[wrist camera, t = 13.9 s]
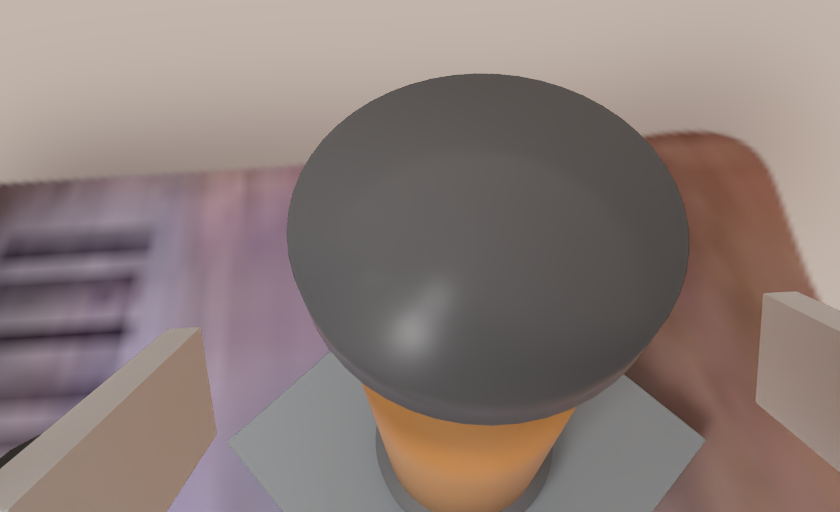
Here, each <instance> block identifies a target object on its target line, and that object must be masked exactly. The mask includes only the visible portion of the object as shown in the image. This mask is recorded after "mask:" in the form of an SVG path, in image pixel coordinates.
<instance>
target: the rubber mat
mask: <svg viewBox="0 0 840 512" xmlns="http://www.w3.org/2000/svg"><path fill="white" fill-rule="evenodd" d="M376 427H377V424H376V421H375V418H374V415H373V412H372V410H371V407H370V404H369V401H368V399H367V396H366V393H365V390H364V387H363V385H362V382H361V381H360V380H358V379H357V378H356V377H355V376H354V375H353V374H352V373H350V372H349V371H348V370H347V369H346V368H345V367H344V366H343V365H342V364H341V362H340V361H339V360H338V359H337V358H336V357H335V355H334V354H333V353H332V352H329V353H328V354H327V355H326V356H325V357H324V358H323V359H321V360H320V361H319V362H318V363H317V364H316V365H315V366H313V367H312V368H311V369H310V370H309V371H308V372H307V373H306V374H304V375H303V376H302V377H301V378H300V379H299V380H298V381H296V382H295V383H294V384H293V385H292V386H291V387H290V388H288V389H287V390H286V391H285V392H284V393H283V394H282V395H280V396H279V397H278V398H277V399H276V400H275V401H274V402H272V403H271V404H270V405H269V406H268V407H267V408H266V409H265V410H263V411H262V412H261V413H260V414H259V415H258V416H257V417H255V418H254V419H253V420H252V421H251V422H250V423H249V424H247V425H246V426H245V427H244V428H243V429H242V430H241V431H239V432H238V433H237V434H236V435H235V436H234V437H233V438H232V439H230V440H229V441H228V442H227V443H228V444H229V446H230V447H231V448H232V449H233V451H234V452H235V453H236V454H237V456H238V457H239V458H240V459H241V461H242V462H243V463H244V464H245V466H246V467H247V468H248V469H249V471H250V472H251V473H252V474H253V476H254V477H255V478H256V479H257V481H258V482H259V483H260V484H261V486H262V487H263V488H264V489H265V491H266V492H267V493H268V494H269V496H270V497H271V498H272V499H273V501H274V502H275V503H276V504H277V506H278V507H279V508H280V509H281V511H282V512H405V511H404V510H403V509H402V508H401V507H400V505H399V504H398V503H397V502H396V500H395V499H394V498H393V496H392V494H391V493H390V491H389V489H388V487H387V485H386V483H385V480H384V478H383V476H382V473H381V471H380V467H379V464H378V460H377V454H376V438H375V437H376ZM705 441H706V439H705V438H703V437H702V436H701V435H699V434H698V433H697V432H696V431H694V430H693V429H692V428H691V427H689V426H688V425H687V424H686V423H684V422H683V421H682V420H681V419H679V418H678V417H677V416H676V415H674V414H673V413H672V412H671V411H669V410H668V409H667V408H666V407H664V406H663V405H662V404H661V403H659V402H658V401H657V400H656V399H654V398H653V397H652V396H650V395H649V394H648V393H647V392H645V391H644V390H643V389H642V388H640V387H639V386H638V385H637V384H635V383H634V382H633V381H632V380H630V379H629V378H628V377H627V376H625V375H624V374H623V375H622V376H621V377H620V378H619V379H618V380H617V381H616V382H615V383H613V384H612V385H611V386H609V387H608V388H607V389H605V390H604V391H602V392H601V393H600V394H598V395H597V396H596V397H594V398H592V399H590V400H588V401H586V402H584V403H582V404H580V405H578V406H577V407H576V409H575V410H574V412H573V413H572V415H571V417H570V418H569V420H568V422H567V423H566V425H565V427H564V428H563V430H562V432H561V433H560V435H559V437H558V438H557V440H556V441H555V443H554V445H553V454H552V462H551V466H550V471H549V474H548V476H547V479H546V482H545V484H544V486H543V488H542V490H541V491H540V493H539V495H538V496H537V497H536V499H535V500H534V501H533V503H532V504H531V506H530V507H529V508H528V509H527V510H526V511H525V512H652V511H653V510H654V509H655V507H656V506H657V505H658V503H659V502H660V501H661V499H662V498H663V497H664V495H665V494H666V493H667V491H668V490H669V489H670V487H671V486H672V485H673V483H674V482H675V481H676V479H677V478H678V477H679V475H680V474H681V473H682V471H683V470H684V469H685V467H686V466H687V465H688V463H689V462H690V461H691V459H692V458H693V457H694V455H695V454H696V453H697V451H698V450H699V449H700V447H701V446H702V445H703V443H704V442H705Z"/></svg>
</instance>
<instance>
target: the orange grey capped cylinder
mask: <svg viewBox="0 0 840 512" xmlns="http://www.w3.org/2000/svg"><path fill="white" fill-rule="evenodd" d="M287 244H288V255H289V260H290V264H291V267H292V271H293V275H294V279H295V281H296V283H297V286H298V288H299V290H300V293H301V295H302V297H303V300H304V302H305V304H306V306H307V309H308V311H309V313H310V315H311V317H312V320H313V322H314V324H315V326H316V329H317V331H318V332H319V334H320V335H321V337H322V339H323V340H324V342H325V343H326V345H327V347H328V348H329V350H330V351H331V352H332V353H333V354H334V355H335V357H336V358H337V359H338V360H339V361H340V362H341V364H342V365H343V366H344V367H345V368H346V369H347V370H348V371H349V372H350V373H352V374H353V375H354V376H355V377H356V378H357V379H358V380H360V381H361V382H362V385H363V387H364V390H365V393H366V396H367V399H368V401H369V404H370V407H371V410H372V412H373V415H374V418H375V421H376V424H377V427H376V437H375V438H376V454H377V460H378V464H379V467H380V471H381V473H382V476H383V478H384V480H385V483H386V485H387V487H388V489H389V491H390V493H391V494H392V496H393V498H394V499H395V500H396V502H397V503H398V504H399V505H400V507H401V508H402V509H403V510H404V511H405V512H525V511H526V510H527V509H528V508H529V507H530V506H531V504H532V503H533V501H534V500H535V499H536V497H537V496H538V495H539V493H540V491H541V490H542V488H543V486H544V484H545V482H546V479H547V476H548V474H549V471H550V466H551V462H552V454H553V445H554V443H555V441H556V440H557V438H558V437H559V435H560V433H561V432H562V430H563V428H564V427H565V425H566V423H567V422H568V420H569V418H570V417H571V415H572V413H573V412H574V410H575V409H576V407H577V406H578V405H580V404H582V403H584V402H586V401H588V400H590V399H592V398H594V397H596V396H597V395H598V394H600V393H601V392H602V391H604V390H605V389H607V388H608V387H609V386H611V385H612V384H613V383H615V382H616V381H617V380H618V379H619V378H620V377H621V376H622V375H623V374H624V373H625V372H626V371H627V370H628V369H629V368H630V367H631V366H632V365H633V364H634V363H635V361H636V360H637V359H638V357H639V356H640V355H641V353H642V352H643V351H644V349H645V348H646V346H647V345H648V344H649V342H650V341H651V340H652V338H653V337H654V335H655V334H656V333H657V331H658V330H659V329H660V327H661V326H662V324H663V323H664V322H665V320H666V319H667V318H668V316H669V314H670V312H671V310H672V308H673V306H674V304H675V302H676V300H677V298H678V296H679V294H680V291H681V288H682V285H683V282H684V278H685V275H686V272H687V264H688V256H689V228H688V222H687V217H686V213H685V208H684V204H683V201H682V199H681V196H680V193H679V191H678V188H677V185H676V183H675V181H674V180H673V178H672V176H671V174H670V172H669V170H668V169H667V167H666V165H665V164H664V162H663V161H662V160H661V158H660V157H659V156H658V154H657V153H656V152H655V150H654V149H653V148H652V147H651V145H650V144H649V143H648V142H647V141H646V140H645V139H644V138H643V137H642V136H641V135H640V134H639V133H638V132H637V131H635V130H634V129H633V128H632V127H631V126H630V125H629V124H627V123H626V122H625V121H624V120H623V119H621V118H620V117H619V116H617V115H615V114H614V113H613V112H611V111H610V110H608V109H606V108H605V107H604V106H602V105H600V104H598V103H596V102H594V101H592V100H590V99H589V98H586V97H585V96H583V95H580V94H578V93H575V92H573V91H570V90H568V89H565V88H563V87H560V86H557V85H553V84H550V83H546V82H543V81H539V80H534V79H529V78H524V77H519V76H509V75H501V74H464V75H452V76H446V77H440V78H434V79H429V80H426V81H422V82H418V83H414V84H410V85H408V86H405V87H402V88H400V89H397V90H394V91H391V92H389V93H387V94H385V95H383V96H381V97H379V98H377V99H375V100H373V101H371V102H369V103H368V104H366V105H365V106H363V107H361V108H360V109H358V110H357V111H355V112H353V113H352V114H351V115H350V116H348V117H347V118H346V119H345V120H344V121H342V122H341V123H340V124H339V125H337V126H336V127H335V128H334V129H333V130H332V131H331V132H330V133H329V134H328V135H327V136H326V137H325V138H324V139H323V140H322V142H321V143H320V144H319V146H318V147H317V149H316V150H315V151H314V153H313V154H312V155H311V156H310V158H309V160H308V161H307V163H306V165H305V167H304V168H303V170H302V172H301V174H300V176H299V179H298V181H297V184H296V186H295V189H294V191H293V194H292V199H291V203H290V207H289V212H288V223H287Z"/></svg>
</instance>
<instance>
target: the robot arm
mask: <svg viewBox="0 0 840 512" xmlns="http://www.w3.org/2000/svg"><path fill="white" fill-rule="evenodd" d="M756 403H757V404H758V405H759V406H760V407H762V408H763V409H764V410H765V411H766V412H768V413H769V414H770V415H771V416H772V417H774V418H775V419H776V420H777V421H778V422H780V423H781V424H782V425H783V426H784V427H786V428H787V429H788V430H789V431H790V432H792V433H793V434H794V435H795V436H796V437H798V438H799V439H800V440H801V441H802V442H804V443H805V444H806V445H807V446H808V447H810V448H811V449H812V450H813V451H814V452H816V453H817V454H818V455H819V456H820V457H822V458H823V459H824V460H825V461H826V462H828V463H829V464H830V465H831V466H832V467H834V468H835V469H836V470H837V471H838V472H840V311H839V310H837V309H834V308H832V307H830V306H828V305H826V304H824V303H821V302H819V301H817V300H815V299H812V298H810V297H808V296H806V295H804V294H801V293H799V292H797V291H793V292H776V293H763V304H762V318H761V332H760V346H759V360H758V374H757V388H756ZM216 434H217V432H216V425H215V419H214V412H213V406H212V399H211V393H210V386H209V380H208V373H207V367H206V360H205V353H204V347H203V340H202V334H201V327H193V328H177V329H167V330H166V331H165V332H164V333H163V334H161V335H160V336H159V337H158V338H157V339H155V340H154V341H153V342H152V343H151V344H149V345H148V346H147V347H146V348H145V349H143V350H142V351H141V352H140V353H139V354H137V355H136V356H135V357H134V358H133V359H131V360H130V361H129V362H128V363H127V364H125V365H124V366H123V367H122V368H121V369H119V370H118V371H117V372H116V373H115V374H113V375H112V376H111V377H110V378H109V379H107V380H106V381H105V382H104V383H103V384H101V385H100V386H99V387H98V388H97V389H95V390H94V391H93V392H92V393H91V394H89V395H88V396H87V397H86V398H85V399H83V400H82V401H81V402H80V403H79V404H77V405H76V406H75V407H74V408H73V409H71V410H70V411H69V412H68V413H67V414H65V415H64V416H63V417H62V418H61V419H59V420H58V421H57V422H56V423H55V424H53V425H52V426H51V427H50V428H49V429H47V430H46V431H45V432H44V433H43V434H40V435H38V436H36V437H34V438H33V439H31V440H29V441H27V442H25V443H23V444H21V445H19V446H17V447H16V448H14V449H12V450H10V451H9V452H8V453H6V454H5V455H4V456H3V457H1V458H0V512H167V510H168V509H169V507H170V506H171V504H172V503H173V501H174V500H175V498H176V496H177V495H178V493H179V492H180V490H181V489H182V487H183V486H184V484H185V482H186V481H187V479H188V478H189V476H190V475H191V473H192V471H193V470H194V468H195V467H196V465H197V464H198V462H199V461H200V459H201V457H202V456H203V454H204V453H205V451H206V450H207V448H208V447H209V445H210V443H211V442H212V440H213V439H214V437H215V436H216Z"/></svg>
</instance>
